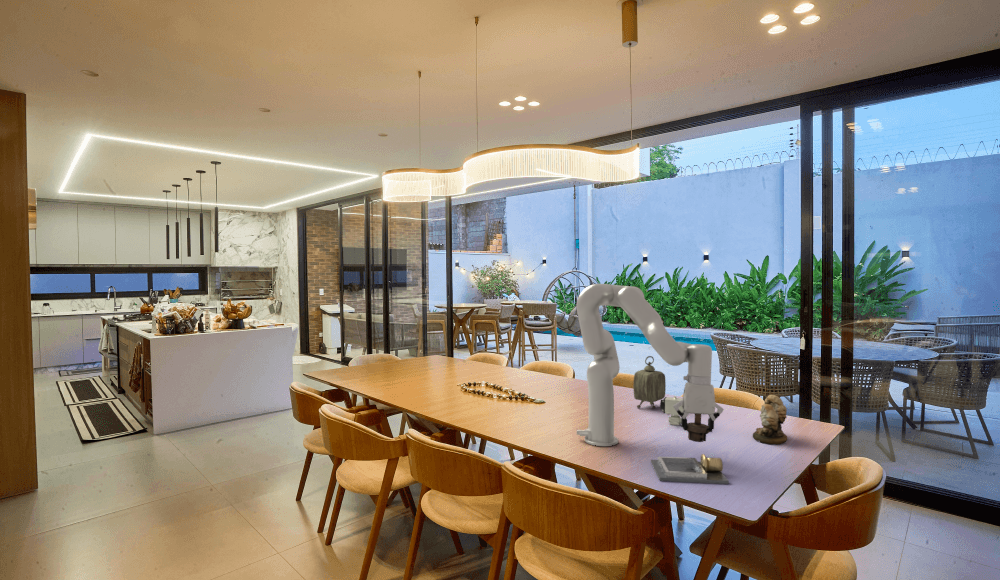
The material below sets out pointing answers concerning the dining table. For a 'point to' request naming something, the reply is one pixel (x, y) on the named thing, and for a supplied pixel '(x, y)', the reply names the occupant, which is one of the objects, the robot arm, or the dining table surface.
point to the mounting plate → (690, 470)
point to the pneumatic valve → (671, 409)
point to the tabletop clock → (649, 384)
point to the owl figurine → (772, 422)
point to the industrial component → (697, 430)
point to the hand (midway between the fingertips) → (697, 429)
